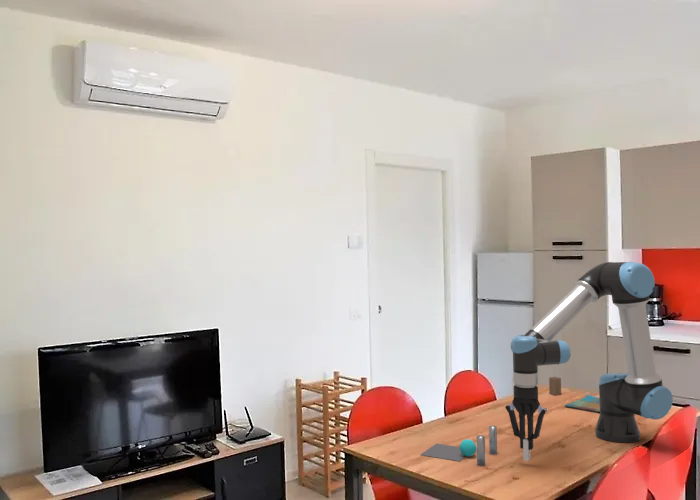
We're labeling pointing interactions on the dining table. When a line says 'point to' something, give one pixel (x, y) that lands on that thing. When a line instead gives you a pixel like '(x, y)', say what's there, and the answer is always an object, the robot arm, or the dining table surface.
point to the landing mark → (444, 452)
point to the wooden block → (555, 386)
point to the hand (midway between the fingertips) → (526, 459)
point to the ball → (467, 447)
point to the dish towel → (586, 404)
